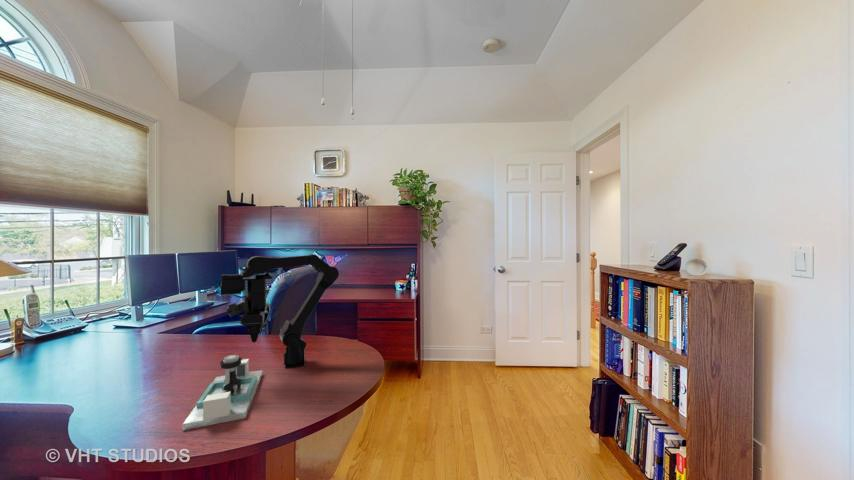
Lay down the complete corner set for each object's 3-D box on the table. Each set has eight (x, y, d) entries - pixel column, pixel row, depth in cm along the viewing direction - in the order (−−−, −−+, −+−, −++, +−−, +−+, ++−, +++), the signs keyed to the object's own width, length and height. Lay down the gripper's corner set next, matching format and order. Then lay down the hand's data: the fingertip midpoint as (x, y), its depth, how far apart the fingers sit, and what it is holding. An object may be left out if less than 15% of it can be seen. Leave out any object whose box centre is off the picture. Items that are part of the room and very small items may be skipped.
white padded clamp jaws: (248, 372, 98) (248, 358, 98) (227, 415, 73) (227, 397, 73) (231, 374, 96) (231, 361, 96) (203, 420, 71) (203, 401, 71)
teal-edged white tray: (262, 374, 99) (262, 366, 99) (245, 418, 74) (245, 407, 74) (216, 381, 94) (216, 373, 94) (182, 430, 70) (182, 419, 70)
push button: (229, 399, 81) (229, 362, 81) (211, 398, 81) (211, 362, 81) (246, 387, 87) (246, 353, 88) (229, 386, 88) (229, 353, 88)
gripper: (236, 290, 106) (236, 332, 106) (221, 299, 89) (221, 350, 89) (270, 288, 110) (270, 329, 110) (262, 296, 93) (262, 345, 93)
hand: (256, 337), depth 101 cm, fingers open, 9 cm apart
